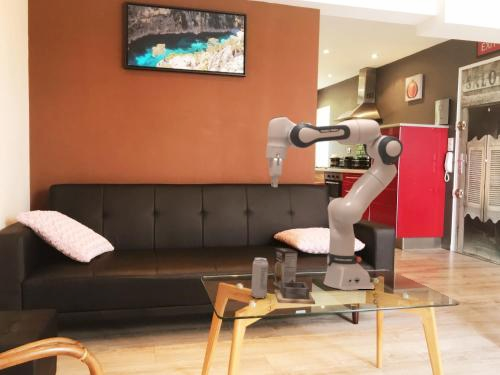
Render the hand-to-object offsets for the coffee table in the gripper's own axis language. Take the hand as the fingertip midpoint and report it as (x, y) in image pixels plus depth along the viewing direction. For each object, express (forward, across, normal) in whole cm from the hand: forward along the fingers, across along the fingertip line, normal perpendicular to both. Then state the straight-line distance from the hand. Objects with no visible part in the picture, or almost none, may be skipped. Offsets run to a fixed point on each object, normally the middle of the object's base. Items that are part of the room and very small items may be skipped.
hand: (274, 186), depth 185 cm
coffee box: (+43, -1, -7) cm, 43 cm away
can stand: (+43, -17, -9) cm, 47 cm away
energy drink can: (+43, -18, +5) cm, 47 cm away
